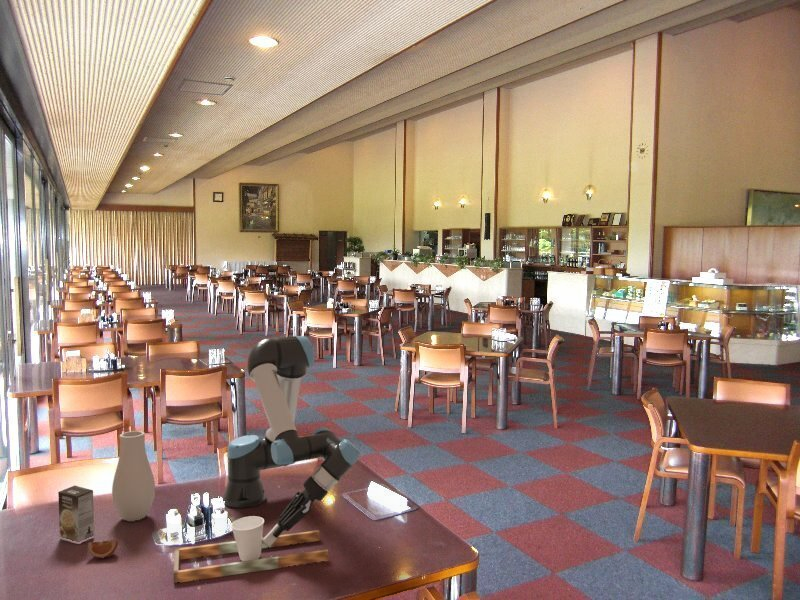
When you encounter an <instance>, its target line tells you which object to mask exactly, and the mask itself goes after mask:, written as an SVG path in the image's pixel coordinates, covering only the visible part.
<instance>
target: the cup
mask: <svg viewBox="0 0 800 600" xmlns="http://www.w3.org/2000/svg"><path fill="white" fill-rule="evenodd" d="M264 523H265V519H264V518H263V517H261V516H258V515H257V516H255V515H252V516H251V515H249V516H244V517H241V518H237V519H235V520H234V521H232V522H231V524H230V528H231V529H232V533H233V537H234V541H236V545H237V549H238V552H237V553H238V555H239V560H241V562H242V561H249V560H256V559H260V558H261V555H262V549H261V546H262V537H263V534H264V533H263V531H264Z"/></svg>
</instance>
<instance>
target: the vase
mask: <svg viewBox="0 0 800 600" xmlns="http://www.w3.org/2000/svg"><path fill="white" fill-rule="evenodd" d="M145 435H146V433H145V432H143V431H141V430H134V431H133V430H131V431H126V432H123V433H121V434H119V446H120V447H119V456H118V461H117V466H116V467H115V473H114V476H113V481H112V486H111V487H112V488H111V493H112V501H113V504H114V507H115V510H116V512H117V513H118V515H119V517H120V518H121V519H122V520H124V521H126V520H127V522H136V521H135V520H138V521H141V520H142V518H143V519H144V518H146V516H148V514H149V513H150V510H151V509H152V506H153V504H154V500H155V494H156V482H155V477H154V474H153V470H152V467H151V463H150V461H149V459H148V455H147V451H146V444H145V438H146V437H145ZM140 519H141V520H140Z"/></svg>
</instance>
